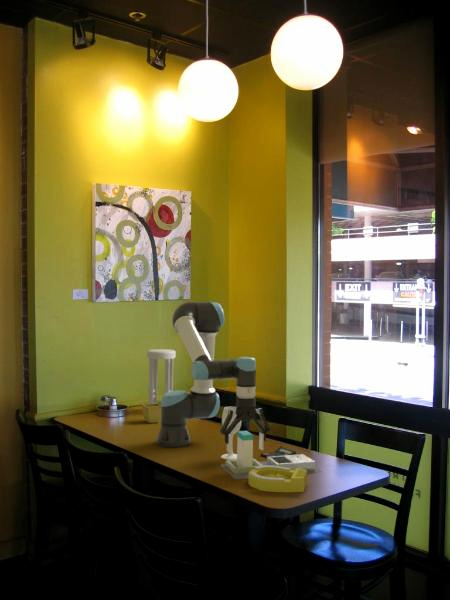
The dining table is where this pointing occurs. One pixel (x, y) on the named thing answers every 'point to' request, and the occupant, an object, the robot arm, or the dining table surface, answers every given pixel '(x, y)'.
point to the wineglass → (236, 429)
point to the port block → (292, 462)
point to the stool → (153, 371)
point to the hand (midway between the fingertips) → (245, 450)
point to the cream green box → (244, 449)
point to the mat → (246, 475)
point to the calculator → (279, 452)
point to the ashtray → (278, 479)
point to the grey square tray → (233, 463)
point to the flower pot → (152, 412)
